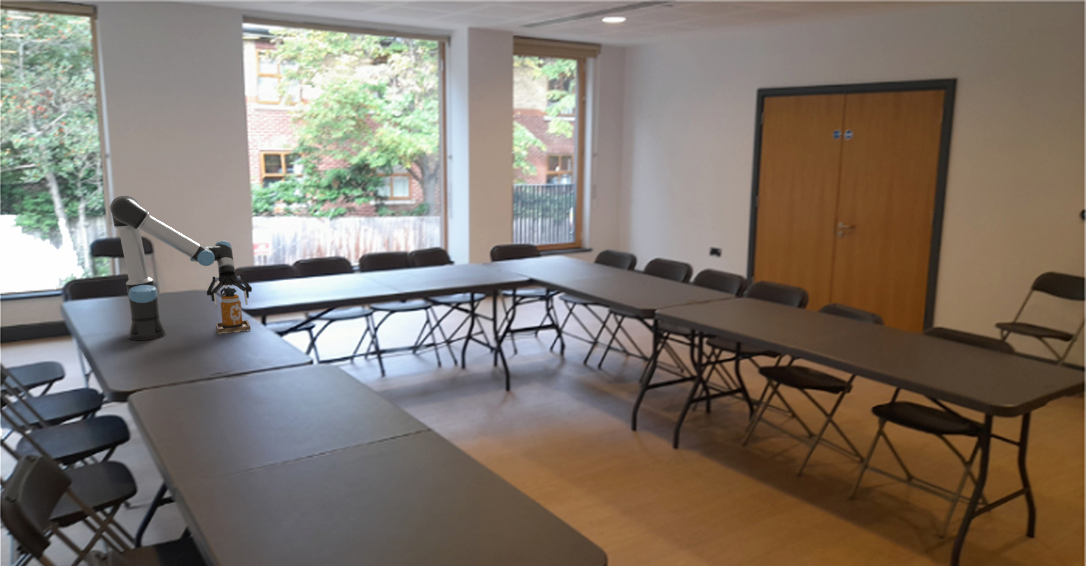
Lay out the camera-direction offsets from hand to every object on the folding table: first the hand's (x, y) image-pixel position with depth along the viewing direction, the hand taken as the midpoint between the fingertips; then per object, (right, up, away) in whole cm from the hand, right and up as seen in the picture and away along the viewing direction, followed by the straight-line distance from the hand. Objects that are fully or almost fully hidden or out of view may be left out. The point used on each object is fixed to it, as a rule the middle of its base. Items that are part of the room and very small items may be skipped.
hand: (231, 304), depth 365 cm
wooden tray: (-1, -12, +5) cm, 13 cm away
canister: (-2, -12, +4) cm, 12 cm away
